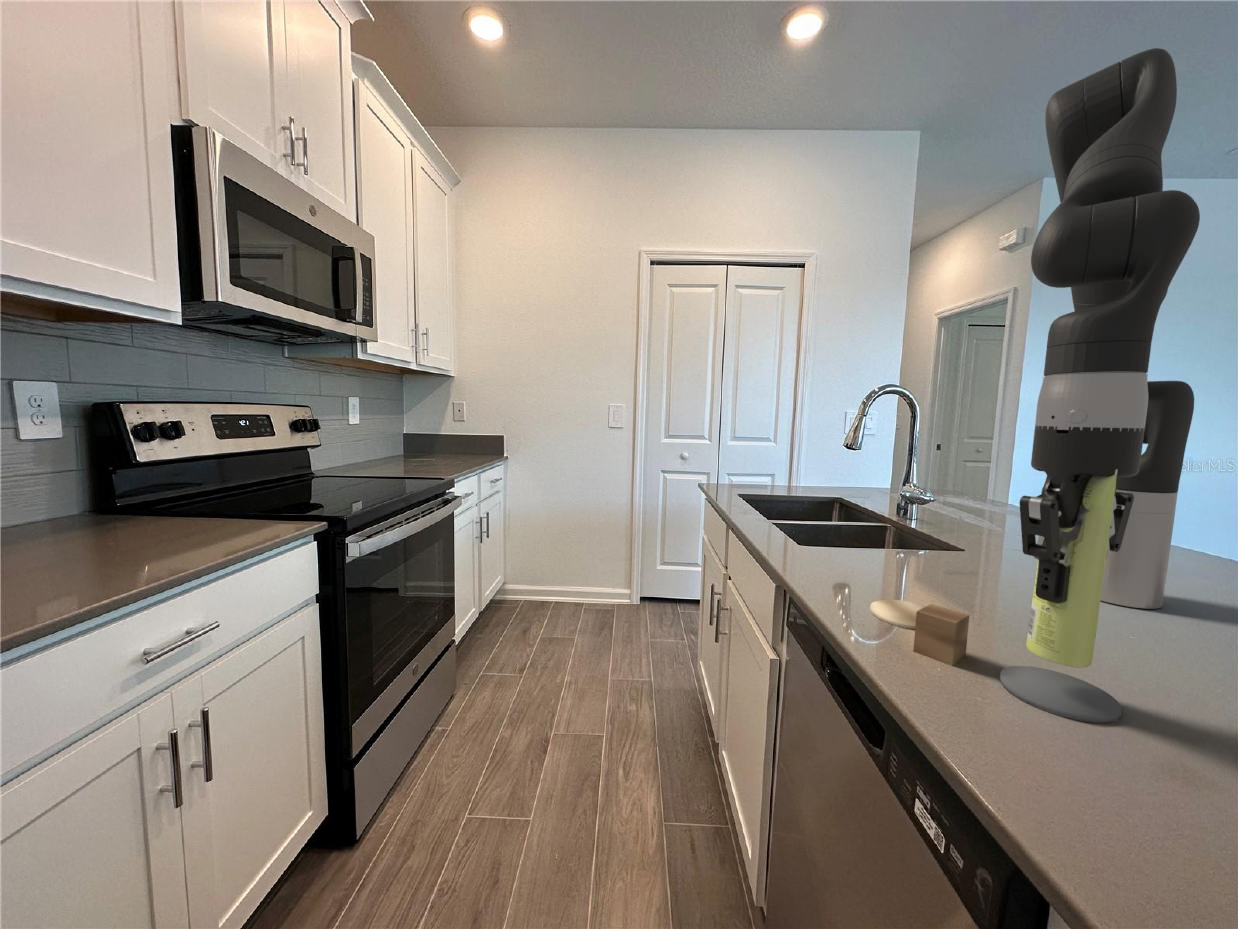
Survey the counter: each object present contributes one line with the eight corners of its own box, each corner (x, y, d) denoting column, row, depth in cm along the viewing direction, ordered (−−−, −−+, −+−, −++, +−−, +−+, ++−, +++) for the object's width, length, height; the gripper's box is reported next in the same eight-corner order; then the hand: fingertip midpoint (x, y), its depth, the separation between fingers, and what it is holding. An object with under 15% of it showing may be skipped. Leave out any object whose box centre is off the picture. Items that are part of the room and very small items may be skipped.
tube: (1107, 663, 48) (1132, 464, 45) (1092, 678, 45) (1117, 467, 43) (1034, 640, 52) (1054, 459, 50) (1016, 652, 49) (1036, 461, 47)
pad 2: (1033, 665, 55) (1033, 660, 55) (1141, 711, 46) (1142, 705, 46) (979, 679, 51) (980, 674, 51) (1086, 732, 43) (1087, 725, 43)
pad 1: (901, 600, 73) (901, 596, 73) (961, 624, 65) (961, 620, 65) (855, 608, 70) (856, 604, 70) (913, 635, 62) (913, 630, 62)
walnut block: (927, 642, 60) (931, 603, 59) (965, 656, 57) (969, 614, 56) (913, 652, 57) (916, 611, 57) (951, 666, 54) (955, 623, 54)
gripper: (1082, 423, 52) (1064, 577, 54) (995, 422, 47) (978, 592, 49) (1183, 425, 45) (1158, 602, 47) (1092, 424, 40) (1069, 622, 42)
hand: (1066, 596), depth 48 cm, fingers closed on tube, 4 cm apart
